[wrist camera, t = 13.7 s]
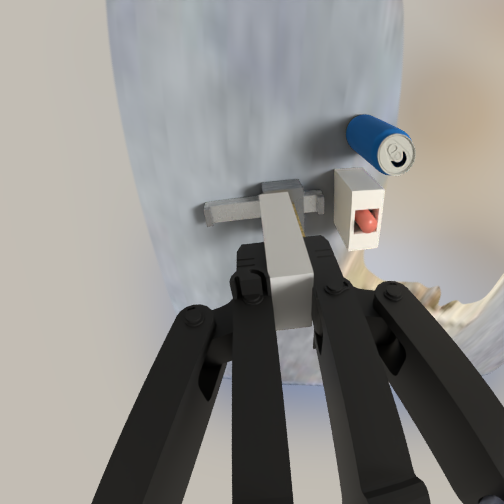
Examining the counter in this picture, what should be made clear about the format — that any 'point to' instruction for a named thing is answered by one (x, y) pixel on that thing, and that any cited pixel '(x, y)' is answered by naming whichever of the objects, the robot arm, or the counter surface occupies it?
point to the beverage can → (381, 144)
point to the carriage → (294, 193)
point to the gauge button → (365, 220)
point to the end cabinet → (356, 206)
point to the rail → (253, 207)
